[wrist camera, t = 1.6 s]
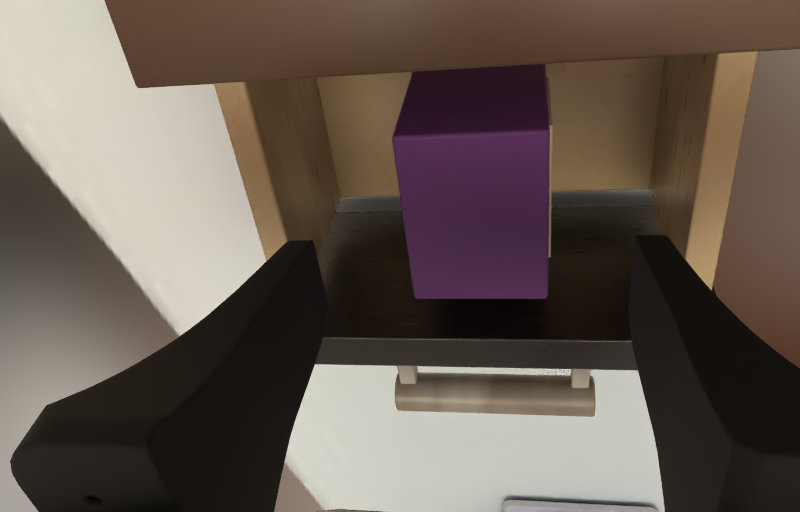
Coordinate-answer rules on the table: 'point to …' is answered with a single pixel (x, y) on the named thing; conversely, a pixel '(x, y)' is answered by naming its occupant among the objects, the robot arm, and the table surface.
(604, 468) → the table surface
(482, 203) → the snack box
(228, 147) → the table surface
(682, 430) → the robot arm
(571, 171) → the drawer
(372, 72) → the drawer unit
